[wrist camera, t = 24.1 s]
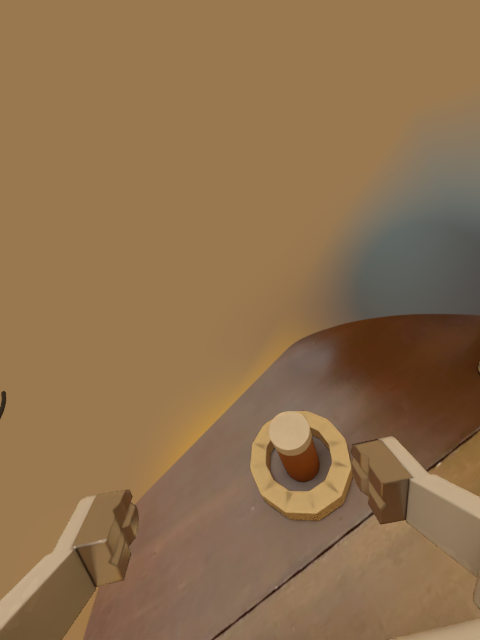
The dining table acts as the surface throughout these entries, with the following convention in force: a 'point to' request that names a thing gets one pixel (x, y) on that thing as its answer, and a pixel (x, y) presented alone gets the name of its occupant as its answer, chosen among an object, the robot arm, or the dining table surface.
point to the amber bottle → (294, 445)
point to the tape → (320, 497)
